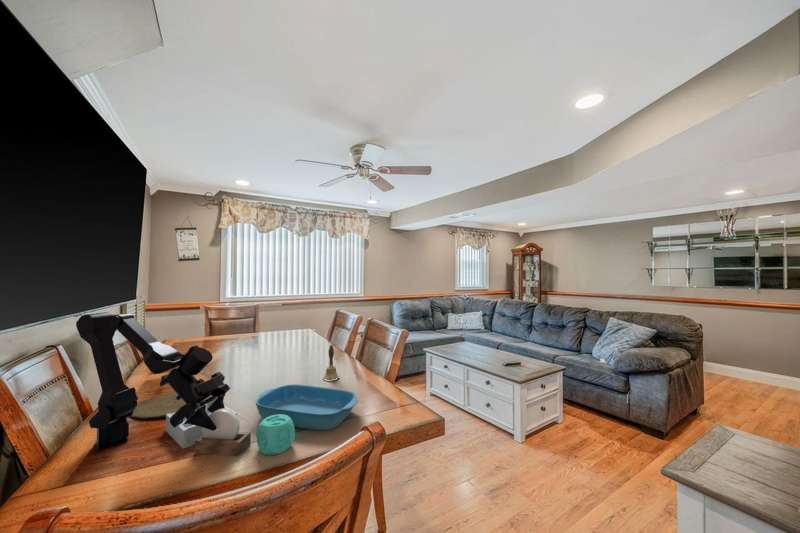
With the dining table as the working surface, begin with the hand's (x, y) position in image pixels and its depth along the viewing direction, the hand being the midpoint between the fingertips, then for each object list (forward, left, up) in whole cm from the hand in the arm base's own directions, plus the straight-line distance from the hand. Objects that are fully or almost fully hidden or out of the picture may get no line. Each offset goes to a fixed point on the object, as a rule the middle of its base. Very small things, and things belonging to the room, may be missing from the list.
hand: (221, 424), depth 92 cm
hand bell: (+59, +24, -7) cm, 65 cm away
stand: (0, -1, -7) cm, 7 cm away
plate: (0, 0, -1) cm, 1 cm away
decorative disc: (+2, +46, -7) cm, 47 cm away
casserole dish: (+28, -1, -7) cm, 29 cm away
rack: (0, +16, -7) cm, 18 cm away
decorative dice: (+10, -12, -7) cm, 17 cm away
